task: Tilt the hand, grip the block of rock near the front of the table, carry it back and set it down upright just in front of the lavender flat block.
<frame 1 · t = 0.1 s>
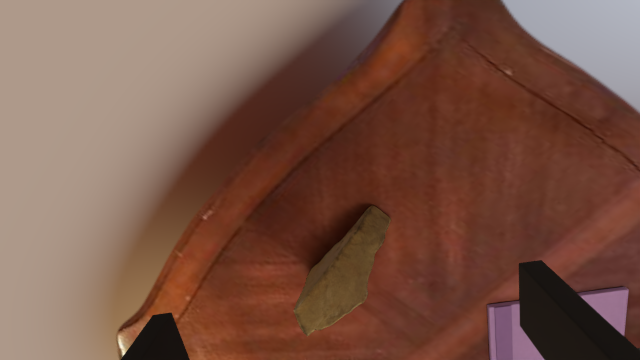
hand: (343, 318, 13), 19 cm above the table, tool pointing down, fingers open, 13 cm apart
rock: (350, 252, 33), on the table
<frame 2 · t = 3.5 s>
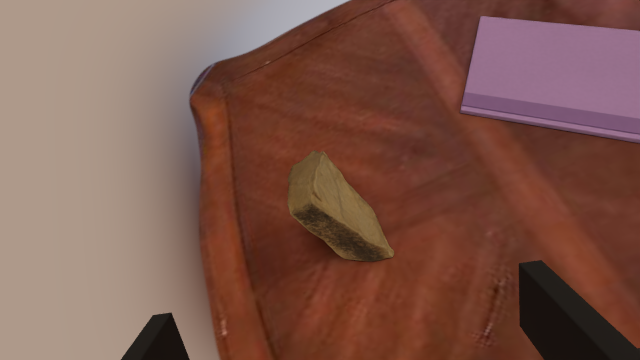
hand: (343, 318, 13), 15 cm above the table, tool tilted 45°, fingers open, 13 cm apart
lavender flat block: (568, 75, 33), on the table
rock: (343, 208, 31), on the table
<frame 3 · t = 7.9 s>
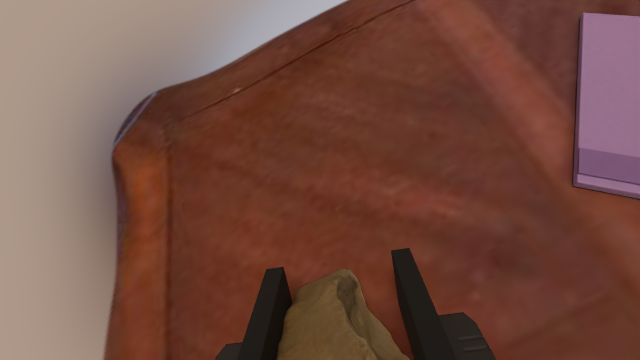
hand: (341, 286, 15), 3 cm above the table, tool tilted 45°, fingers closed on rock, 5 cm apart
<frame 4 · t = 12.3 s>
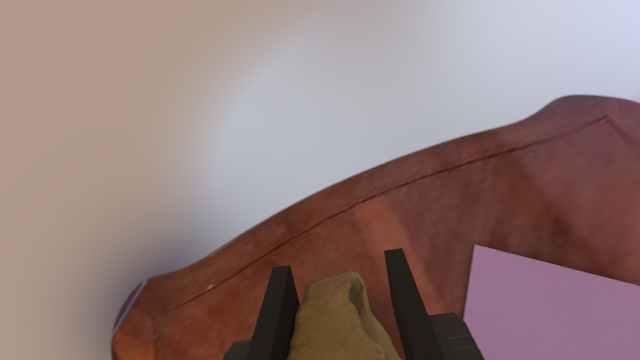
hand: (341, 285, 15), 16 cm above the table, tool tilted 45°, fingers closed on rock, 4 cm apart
when the fingers open (4 cm above the table, at t = 16.1 s): rock stays where it is, on the table.
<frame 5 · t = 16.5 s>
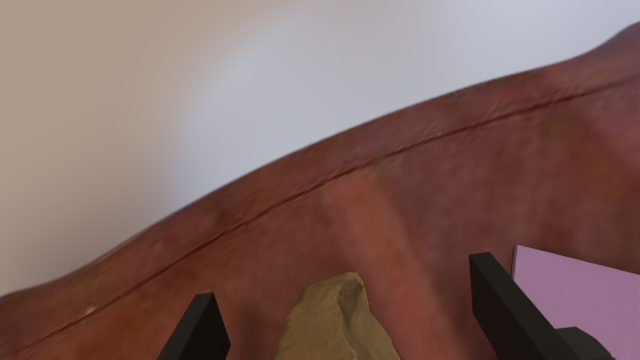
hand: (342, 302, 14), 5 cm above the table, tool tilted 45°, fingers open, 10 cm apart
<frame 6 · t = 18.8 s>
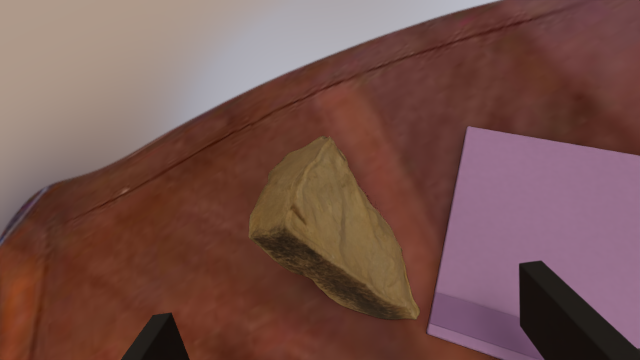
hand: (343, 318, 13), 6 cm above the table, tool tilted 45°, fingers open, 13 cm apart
lavender flat block: (628, 264, 18), on the table
rock: (354, 228, 21), on the table
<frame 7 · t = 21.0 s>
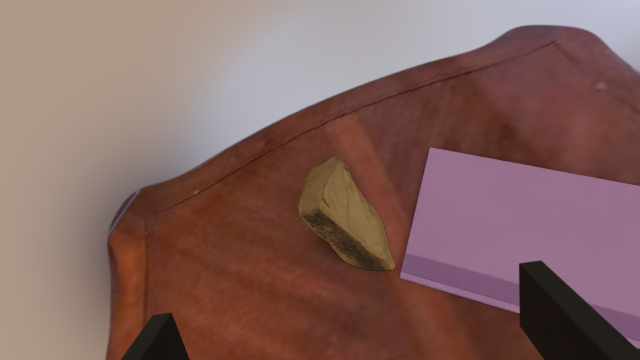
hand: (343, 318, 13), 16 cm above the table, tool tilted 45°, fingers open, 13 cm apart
lavender flat block: (523, 234, 29), on the table
rock: (354, 215, 32), on the table
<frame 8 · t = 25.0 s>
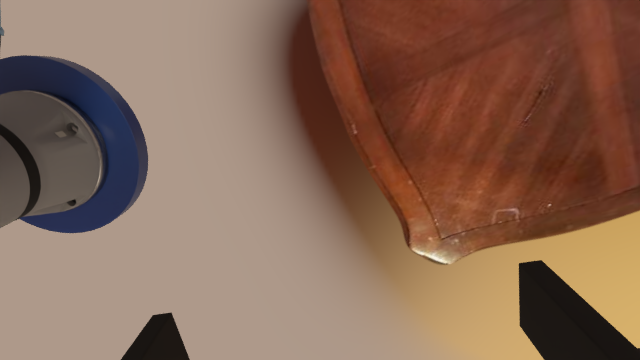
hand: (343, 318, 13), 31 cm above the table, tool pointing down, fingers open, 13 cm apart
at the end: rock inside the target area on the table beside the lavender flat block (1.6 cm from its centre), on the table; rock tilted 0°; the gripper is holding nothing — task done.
